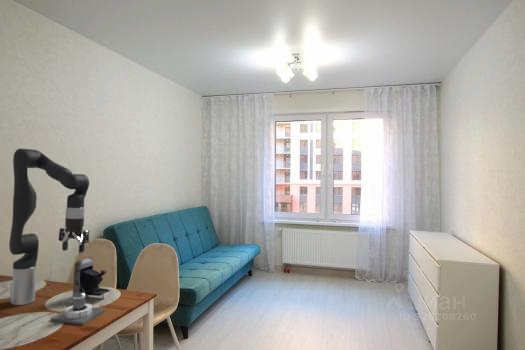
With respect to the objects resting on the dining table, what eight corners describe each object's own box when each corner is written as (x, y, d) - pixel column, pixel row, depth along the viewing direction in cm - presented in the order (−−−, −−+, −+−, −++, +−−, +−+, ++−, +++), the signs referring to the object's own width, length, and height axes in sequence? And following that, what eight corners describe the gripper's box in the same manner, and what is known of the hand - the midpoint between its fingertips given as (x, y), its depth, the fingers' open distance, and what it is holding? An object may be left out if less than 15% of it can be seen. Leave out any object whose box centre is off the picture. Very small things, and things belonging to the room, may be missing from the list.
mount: (50, 320, 140) (50, 312, 140) (74, 308, 154) (75, 300, 154) (82, 325, 137) (83, 316, 137) (104, 311, 151) (105, 304, 151)
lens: (69, 315, 144) (70, 294, 144) (78, 310, 149) (78, 291, 149) (79, 316, 143) (80, 296, 143) (87, 311, 148) (88, 292, 148)
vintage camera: (98, 304, 161) (101, 264, 161) (71, 299, 164) (74, 260, 164) (110, 297, 170) (113, 259, 170) (85, 293, 173) (88, 256, 173)
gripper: (55, 216, 149) (53, 251, 149) (82, 219, 146) (80, 254, 146) (68, 214, 156) (66, 248, 156) (94, 217, 153) (92, 251, 154)
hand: (73, 251), depth 151 cm, fingers open, 8 cm apart
